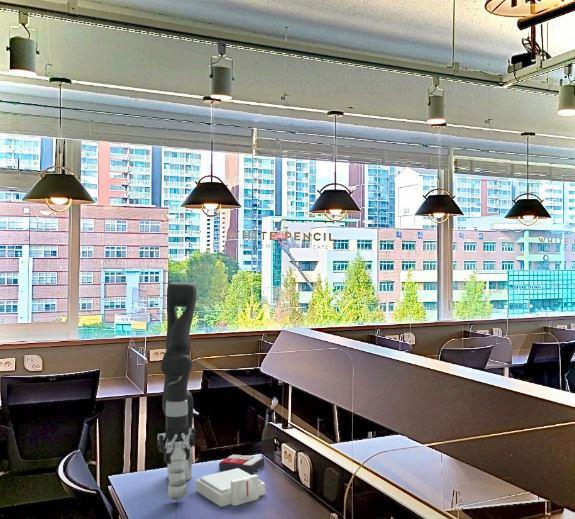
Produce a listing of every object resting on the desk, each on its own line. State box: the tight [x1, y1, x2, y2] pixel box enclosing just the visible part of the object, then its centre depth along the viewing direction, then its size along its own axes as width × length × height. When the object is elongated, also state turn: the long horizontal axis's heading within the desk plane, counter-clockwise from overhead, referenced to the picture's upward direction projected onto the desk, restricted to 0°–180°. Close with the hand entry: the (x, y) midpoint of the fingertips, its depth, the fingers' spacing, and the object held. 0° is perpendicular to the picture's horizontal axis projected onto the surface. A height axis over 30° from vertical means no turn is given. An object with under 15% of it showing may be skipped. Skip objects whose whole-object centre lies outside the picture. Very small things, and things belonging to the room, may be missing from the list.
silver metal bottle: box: [167, 440, 188, 500], centre depth 205 cm, size 6×7×20 cm
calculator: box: [218, 454, 265, 475], centre depth 240 cm, size 11×4×15 cm
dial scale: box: [195, 468, 266, 507], centre depth 212 cm, size 21×18×8 cm
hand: (177, 461), depth 205 cm, fingers closed on silver metal bottle, 6 cm apart
